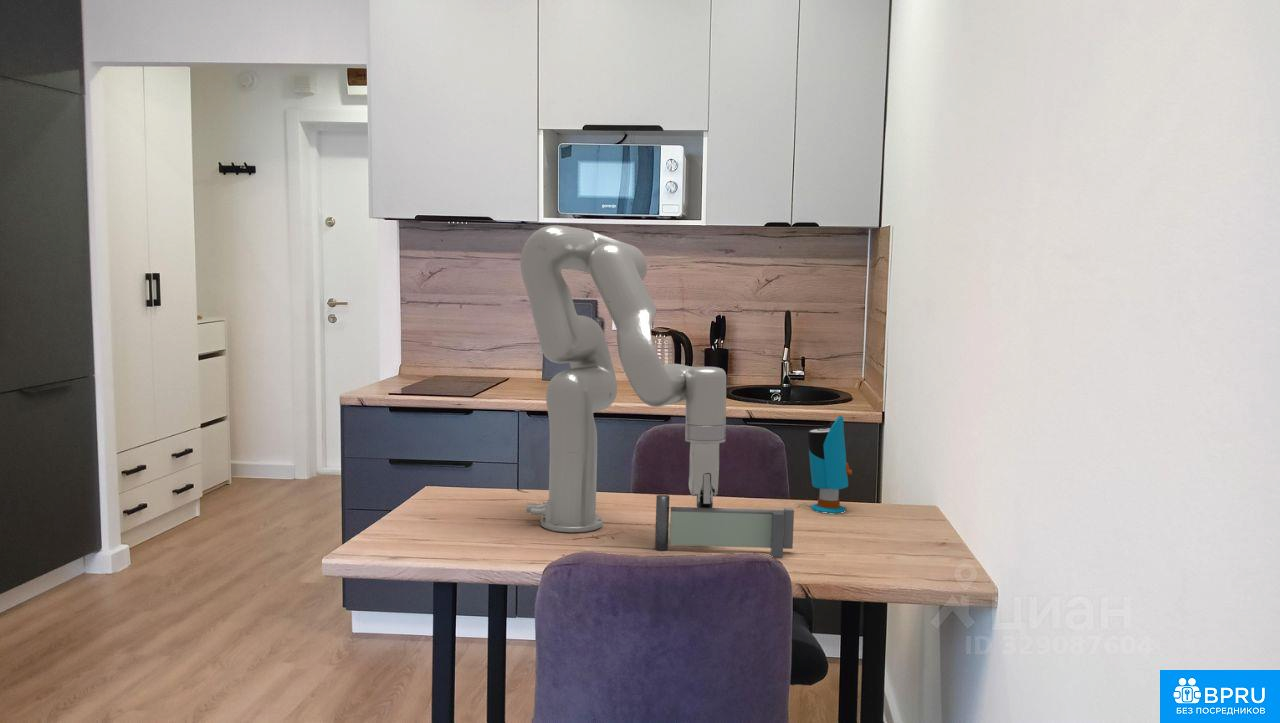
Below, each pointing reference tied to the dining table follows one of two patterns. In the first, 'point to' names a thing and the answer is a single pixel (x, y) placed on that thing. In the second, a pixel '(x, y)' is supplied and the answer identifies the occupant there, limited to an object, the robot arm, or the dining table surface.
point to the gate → (727, 527)
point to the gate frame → (663, 528)
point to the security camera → (828, 465)
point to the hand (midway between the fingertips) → (704, 529)
